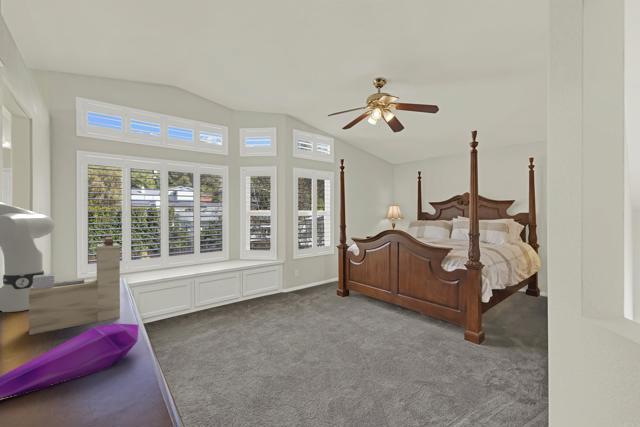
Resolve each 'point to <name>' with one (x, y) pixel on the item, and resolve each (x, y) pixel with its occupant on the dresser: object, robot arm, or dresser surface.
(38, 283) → the steel link
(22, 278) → the robot arm
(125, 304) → the dresser surface
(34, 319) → the maple stand
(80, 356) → the crystal
